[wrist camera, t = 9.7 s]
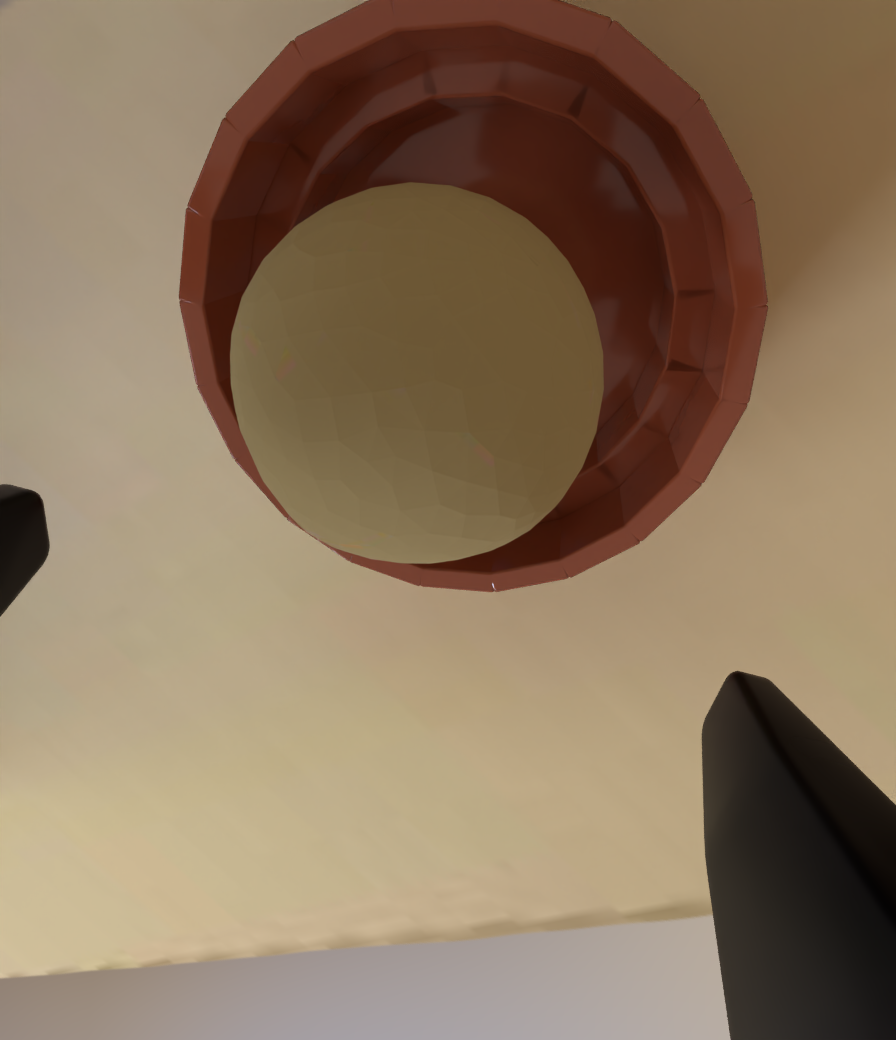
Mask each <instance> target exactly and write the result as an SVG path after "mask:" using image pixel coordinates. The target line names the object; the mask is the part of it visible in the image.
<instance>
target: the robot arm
mask: <svg viewBox="0 0 896 1040" xmlns="http://www.w3.org/2000/svg"><path fill="white" fill-rule="evenodd" d="M48 552H49V537H48V530H47V524H46V517H45V511H44V504H43V500H42V499H41V497H40V495H39V494H38V493H36V492H35V491H32V490H29V489H25V488H21V487H17V486H13V485H7V484H2V485H0V616H1V615H2V614H3V613H4V612H5V610H6V609H7V608H8V607H9V605H10V604H11V603H12V602H13V600H14V599H15V598H16V597H17V596H18V594H19V593H20V592H21V591H22V589H23V588H24V587H25V586H26V584H27V583H28V582H29V581H30V580H31V578H32V577H33V576H34V575H35V573H36V572H37V571H38V570H39V569H40V567H41V566H42V565H43V563H44V562H45V560H46V558H47V556H48ZM702 768H703V808H704V841H705V857H706V866H707V875H708V882H709V889H710V896H711V904H712V911H713V918H714V925H715V932H716V939H717V946H718V953H719V960H720V967H721V975H722V982H723V989H724V996H725V1003H726V1010H727V1017H728V1024H729V1031H730V1038H731V1040H896V805H895V804H894V803H893V802H892V801H891V800H890V799H889V798H888V797H887V796H886V795H885V794H884V793H883V792H882V791H881V790H880V789H879V788H878V787H877V786H876V785H875V784H874V783H873V782H872V781H871V780H870V779H869V778H868V777H867V776H866V775H865V774H864V773H863V772H862V771H861V770H860V769H859V768H858V767H857V766H856V765H855V764H854V763H853V762H852V761H851V760H850V759H849V758H848V757H847V756H846V755H845V754H844V753H843V752H842V751H841V750H840V749H839V748H838V747H837V746H836V745H835V744H834V743H833V742H832V741H831V740H830V739H829V738H828V737H827V736H826V735H825V734H824V733H823V732H822V731H821V730H820V729H819V728H818V727H817V726H816V725H815V724H814V723H813V722H812V721H811V720H810V719H809V718H808V717H806V716H805V715H804V714H803V713H802V712H801V711H800V710H799V709H798V708H797V707H796V706H795V705H794V704H793V703H792V702H791V701H790V700H789V699H788V698H787V697H786V696H785V695H784V694H783V693H782V692H781V691H780V690H779V689H778V688H777V687H776V686H775V685H774V684H773V683H772V682H771V681H770V680H768V679H766V678H764V677H760V676H756V675H752V674H748V673H744V672H740V671H735V672H732V673H731V674H730V675H729V676H728V677H727V678H726V680H725V681H724V683H723V685H722V687H721V689H720V691H719V693H718V695H717V697H716V699H715V700H714V702H713V704H712V706H711V708H710V710H709V712H708V714H707V716H706V718H705V721H704V724H703V729H702Z"/></svg>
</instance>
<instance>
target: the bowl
mask: <svg viewBox="0 0 896 1040" xmlns="http://www.w3.org/2000/svg"><path fill="white" fill-rule="evenodd" d="M409 182H413V183H426V184H439V185H451V186H454V187H457V188H461V189H464V190H467V191H470V192H474V193H477V194H480V195H484V196H487V197H490V198H492V199H494V200H495V201H497V202H499V203H501V204H502V205H504V206H506V207H508V208H509V209H511V210H513V211H515V212H516V213H518V214H520V215H522V216H523V217H525V218H526V219H528V220H529V221H530V222H531V223H532V224H533V225H534V226H536V227H537V228H538V229H539V230H540V231H541V232H542V233H544V234H545V235H546V236H547V237H548V238H549V239H550V240H551V242H552V243H553V244H554V245H555V246H556V247H557V249H558V250H559V251H560V252H561V253H562V254H563V256H564V257H565V258H566V259H567V260H568V262H569V264H570V265H571V267H572V269H573V270H574V272H575V274H576V275H577V277H578V279H579V281H580V282H581V284H582V286H583V287H584V290H585V292H586V295H587V297H588V299H589V302H590V304H591V307H592V309H593V311H594V314H595V318H596V322H597V327H598V331H599V336H600V341H601V345H602V350H603V377H604V391H603V396H602V402H601V408H600V413H599V419H598V424H597V430H596V434H595V437H594V439H593V442H592V444H591V447H590V449H589V452H588V454H587V457H586V459H585V462H584V464H583V467H582V469H581V470H580V472H579V473H578V475H577V477H576V478H575V480H574V481H573V483H572V484H571V486H570V487H569V489H568V490H567V492H566V494H565V495H564V497H563V498H562V500H561V501H560V502H559V503H558V504H557V505H556V507H555V508H554V509H553V510H551V511H550V512H549V513H548V514H547V515H546V516H545V517H544V518H543V519H542V520H541V521H540V522H539V523H537V524H536V525H535V526H534V527H533V528H532V529H531V530H529V531H528V532H526V533H524V534H523V535H521V536H519V537H518V538H516V539H514V540H513V541H511V542H509V543H507V544H505V545H503V546H500V547H498V548H496V549H494V550H491V551H489V552H485V553H481V554H478V555H474V556H470V557H466V558H462V559H459V560H453V561H446V562H438V563H431V564H420V563H396V562H389V561H382V560H374V559H369V558H366V557H362V556H359V555H355V554H352V553H349V552H345V551H342V550H339V549H336V548H334V547H331V546H329V545H328V544H326V543H324V542H323V541H321V540H319V539H317V538H316V537H314V536H312V535H311V534H309V533H308V534H309V535H311V536H312V537H314V538H315V539H316V540H318V541H319V542H321V543H322V544H324V545H325V546H327V547H328V548H330V549H331V550H333V551H334V552H336V553H337V554H339V555H340V556H342V557H343V558H345V559H346V560H348V561H350V562H352V563H355V564H358V565H360V566H363V567H366V568H369V569H372V570H374V571H377V572H380V573H383V574H386V575H389V576H391V577H394V578H397V579H400V580H403V581H405V582H408V583H411V584H414V585H417V586H420V585H421V586H422V587H435V588H447V589H459V590H471V591H483V592H493V591H495V592H499V591H504V590H510V589H515V588H520V587H526V586H531V585H536V584H542V583H547V582H552V581H558V580H563V579H567V578H568V577H573V576H575V575H577V574H579V573H581V572H583V571H585V570H587V569H589V568H591V567H593V566H595V565H597V564H599V563H601V562H603V561H605V560H607V559H609V558H611V557H613V556H615V555H617V554H619V553H621V552H623V551H625V550H627V549H629V548H631V547H633V546H635V545H637V544H639V543H640V541H643V540H644V539H645V538H646V537H647V536H648V535H649V534H650V533H651V532H653V531H654V530H655V529H656V528H657V527H658V526H659V525H660V524H661V523H662V522H663V521H664V520H665V519H666V518H667V517H668V516H670V515H671V514H672V513H673V512H674V511H675V510H676V509H677V508H678V507H679V506H680V505H681V504H682V503H683V502H684V501H685V500H687V499H688V498H689V497H690V496H691V495H692V494H693V493H694V492H695V491H696V490H697V489H698V488H699V487H700V486H701V485H702V483H704V482H705V480H706V478H707V476H708V475H709V473H710V471H711V469H712V468H713V466H714V464H715V462H716V460H717V459H718V457H719V455H720V453H721V452H722V450H723V448H724V446H725V444H726V443H727V441H728V439H729V437H730V436H731V434H732V432H733V430H734V429H735V427H736V425H737V423H738V421H739V420H740V418H741V416H742V414H743V413H744V411H745V409H746V407H747V403H748V402H749V400H750V395H751V390H752V385H753V380H754V375H755V370H756V366H757V361H758V356H759V351H760V346H761V341H762V336H763V331H764V326H765V321H766V316H767V311H768V306H767V305H766V304H767V302H768V298H767V290H766V283H765V275H764V268H763V260H762V252H761V245H760V237H759V230H758V222H757V215H756V207H755V202H754V200H753V199H752V192H751V190H750V188H749V187H748V185H747V183H746V181H745V179H744V177H743V175H742V173H741V171H740V169H739V167H738V165H737V163H736V162H735V160H734V158H733V156H732V154H731V152H730V150H729V148H728V146H727V144H726V142H725V140H724V138H723V137H722V135H721V133H720V131H719V129H718V127H717V125H716V123H715V121H714V119H713V117H712V115H711V113H710V112H709V110H708V108H707V106H706V104H705V102H704V100H702V99H700V95H699V93H698V92H696V91H695V90H694V89H693V88H692V87H691V86H690V85H689V84H687V83H686V82H685V81H684V80H683V79H682V78H681V77H679V76H678V75H677V74H676V73H675V72H674V71H673V70H671V69H670V68H669V67H668V66H667V65H666V64H665V63H664V62H662V61H661V60H660V59H659V58H658V57H657V56H656V55H654V54H653V53H652V52H651V51H650V50H649V49H648V48H646V47H645V46H644V45H643V44H642V43H641V42H640V41H639V40H637V39H636V38H635V37H634V36H633V35H632V34H631V33H629V32H628V31H627V30H626V29H625V28H624V27H623V26H621V25H620V24H619V23H618V22H617V21H615V20H613V21H612V19H611V18H610V17H607V16H604V15H601V14H598V13H595V12H592V11H589V10H587V9H584V8H581V7H578V6H575V5H572V4H569V3H566V2H563V1H560V0H368V1H366V2H364V3H362V4H360V5H358V6H356V7H354V8H352V9H350V10H348V11H346V12H344V13H342V14H340V15H338V16H336V17H334V18H333V19H331V20H329V21H327V22H325V23H323V24H321V25H319V26H317V27H315V28H313V29H311V30H309V31H307V32H305V33H303V34H301V35H299V36H297V37H296V38H295V41H294V40H293V41H291V42H290V43H289V44H288V45H287V46H286V47H285V48H284V49H283V51H282V52H281V53H280V54H279V55H278V56H277V57H276V58H275V59H274V61H273V62H272V63H271V64H270V65H269V66H268V67H267V68H266V70H265V71H264V72H263V73H262V74H261V75H260V76H259V77H258V78H257V80H256V81H255V82H254V83H253V84H252V85H251V86H250V87H249V89H248V90H247V91H246V92H245V93H244V94H243V95H242V96H241V97H240V99H239V100H238V101H237V102H236V103H235V104H234V105H233V106H232V108H231V109H230V110H229V111H228V112H227V113H226V118H224V119H223V120H222V122H221V125H220V127H219V129H218V132H217V134H216V137H215V139H214V142H213V144H212V146H211V149H210V151H209V154H208V156H207V159H206V161H205V164H204V166H203V168H202V171H201V173H200V176H199V178H198V181H197V183H196V185H195V188H194V190H193V193H192V195H191V198H190V200H189V203H188V208H187V209H186V215H185V228H184V240H183V253H182V265H181V278H180V290H179V299H180V308H181V313H182V318H183V323H184V328H185V332H186V337H187V342H188V347H189V352H190V357H191V361H192V366H193V371H194V376H195V381H196V384H197V385H198V386H197V388H198V390H199V392H200V394H201V396H202V398H203V400H204V402H205V404H206V406H207V408H208V410H209V412H210V414H211V416H212V418H213V420H214V422H215V424H216V426H217V428H218V430H219V432H220V433H221V435H222V437H223V439H224V441H225V443H226V445H227V447H228V449H229V451H230V453H231V455H232V457H233V458H234V459H235V461H236V462H237V464H238V465H239V466H240V467H241V468H242V469H243V470H244V472H245V473H246V474H247V475H248V476H249V477H250V478H251V479H252V481H253V482H254V483H255V484H256V485H257V486H258V487H259V488H260V490H261V491H262V492H263V493H264V494H265V495H266V496H267V497H268V499H269V500H270V501H271V502H272V503H273V504H274V505H275V507H276V508H277V509H278V510H279V511H280V512H281V513H282V514H283V516H284V517H287V520H288V521H290V522H291V523H293V524H294V525H296V526H297V527H299V528H300V529H302V530H303V531H305V530H304V529H303V528H301V527H300V526H299V525H298V524H297V523H296V522H295V521H294V520H293V519H292V518H291V516H290V515H289V514H288V513H287V512H286V511H285V509H284V508H283V507H282V505H281V504H280V503H279V501H278V500H277V499H276V497H275V496H274V495H273V494H272V492H271V491H270V490H269V488H268V487H267V486H266V484H265V483H264V482H263V480H262V478H261V476H260V474H259V472H258V469H257V467H256V465H255V463H254V460H253V458H252V456H251V454H250V451H249V449H248V447H247V445H246V442H245V440H244V438H243V436H242V433H241V431H240V428H239V424H238V420H237V415H236V411H235V406H234V400H233V394H232V388H231V373H230V349H231V335H232V330H233V327H234V323H235V319H236V316H237V312H238V309H239V305H240V301H241V298H242V296H243V294H244V292H245V290H246V289H247V287H248V285H249V283H250V282H251V280H252V278H253V276H254V275H255V273H256V271H257V269H258V268H259V266H260V264H261V262H262V261H263V259H264V258H265V257H266V256H267V255H268V254H269V253H270V252H271V251H272V250H273V249H274V248H275V247H276V246H277V245H278V243H279V242H280V241H281V240H282V239H283V238H284V237H285V236H286V235H287V234H288V233H289V232H290V231H291V230H292V229H293V228H294V227H295V226H296V225H298V224H300V223H301V222H303V221H304V220H306V219H307V218H309V217H310V216H312V215H313V214H315V213H316V212H318V211H319V210H321V209H322V208H324V207H325V206H327V205H329V204H331V203H334V202H336V201H338V200H341V199H343V198H346V197H349V196H351V195H354V194H357V193H359V192H362V191H364V190H367V189H370V188H373V187H381V186H388V185H395V184H402V183H409ZM305 532H306V531H305ZM306 533H307V532H306Z"/></svg>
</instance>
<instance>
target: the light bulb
mask: <svg viewBox="0 0 896 1040" xmlns="http://www.w3.org/2000/svg"><path fill="white" fill-rule="evenodd" d="M230 373H231V388H232V394H233V400H234V406H235V411H236V415H237V420H238V424H239V428H240V431H241V433H242V436H243V438H244V440H245V442H246V445H247V447H248V449H249V451H250V454H251V456H252V458H253V460H254V463H255V465H256V467H257V469H258V472H259V474H260V476H261V478H262V480H263V482H264V483H265V484H266V486H267V487H268V488H269V490H270V491H271V492H272V494H273V495H274V496H275V497H276V499H277V500H278V501H279V503H280V504H281V505H282V507H283V508H284V509H285V511H286V512H287V513H288V514H289V515H290V516H291V518H292V519H293V520H294V521H295V522H296V523H297V524H298V525H299V526H300V527H301V528H303V529H304V530H305V531H306V532H307V533H309V534H311V535H312V536H314V537H316V538H317V539H319V540H321V541H323V542H324V543H326V544H328V545H329V546H331V547H334V548H336V549H339V550H342V551H345V552H349V553H352V554H355V555H359V556H362V557H366V558H369V559H374V560H382V561H389V562H396V563H420V564H431V563H438V562H446V561H453V560H459V559H462V558H466V557H470V556H474V555H478V554H481V553H485V552H489V551H491V550H494V549H496V548H498V547H500V546H503V545H505V544H507V543H509V542H511V541H513V540H514V539H516V538H518V537H519V536H521V535H523V534H524V533H526V532H528V531H529V530H531V529H532V528H533V527H534V526H535V525H536V524H537V523H539V522H540V521H541V520H542V519H543V518H544V517H545V516H546V515H547V514H548V513H549V512H550V511H551V510H553V509H554V508H555V507H556V505H557V504H558V503H559V502H560V501H561V500H562V498H563V497H564V495H565V494H566V492H567V490H568V489H569V487H570V486H571V484H572V483H573V481H574V480H575V478H576V477H577V475H578V473H579V472H580V470H581V469H582V467H583V464H584V462H585V459H586V457H587V454H588V452H589V449H590V447H591V444H592V442H593V439H594V437H595V434H596V430H597V424H598V419H599V413H600V408H601V402H602V396H603V391H604V377H603V350H602V345H601V341H600V336H599V331H598V327H597V322H596V318H595V314H594V311H593V309H592V307H591V304H590V302H589V299H588V297H587V295H586V292H585V290H584V287H583V286H582V284H581V282H580V281H579V279H578V277H577V275H576V274H575V272H574V270H573V269H572V267H571V265H570V264H569V262H568V260H567V259H566V258H565V257H564V256H563V254H562V253H561V252H560V251H559V250H558V249H557V247H556V246H555V245H554V244H553V243H552V242H551V240H550V239H549V238H548V237H547V236H546V235H545V234H544V233H542V232H541V231H540V230H539V229H538V228H537V227H536V226H534V225H533V224H532V223H531V222H530V221H529V220H528V219H526V218H525V217H523V216H522V215H520V214H518V213H516V212H515V211H513V210H511V209H509V208H508V207H506V206H504V205H502V204H501V203H499V202H497V201H495V200H494V199H492V198H490V197H487V196H484V195H480V194H477V193H474V192H470V191H467V190H464V189H461V188H457V187H454V186H451V185H439V184H426V183H413V182H409V183H402V184H395V185H388V186H381V187H373V188H370V189H367V190H364V191H362V192H359V193H357V194H354V195H351V196H349V197H346V198H343V199H341V200H338V201H336V202H334V203H331V204H329V205H327V206H325V207H324V208H322V209H321V210H319V211H318V212H316V213H315V214H313V215H312V216H310V217H309V218H307V219H306V220H304V221H303V222H301V223H300V224H298V225H296V226H295V227H294V228H293V229H292V230H291V231H290V232H289V233H288V234H287V235H286V236H285V237H284V238H283V239H282V240H281V241H280V242H279V243H278V245H277V246H276V247H275V248H274V249H273V250H272V251H271V252H270V253H269V254H268V255H267V256H266V257H265V258H264V259H263V261H262V262H261V264H260V266H259V268H258V269H257V271H256V273H255V275H254V276H253V278H252V280H251V282H250V283H249V285H248V287H247V289H246V290H245V292H244V294H243V296H242V298H241V301H240V305H239V309H238V312H237V316H236V319H235V323H234V327H233V330H232V335H231V349H230Z"/></svg>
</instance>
